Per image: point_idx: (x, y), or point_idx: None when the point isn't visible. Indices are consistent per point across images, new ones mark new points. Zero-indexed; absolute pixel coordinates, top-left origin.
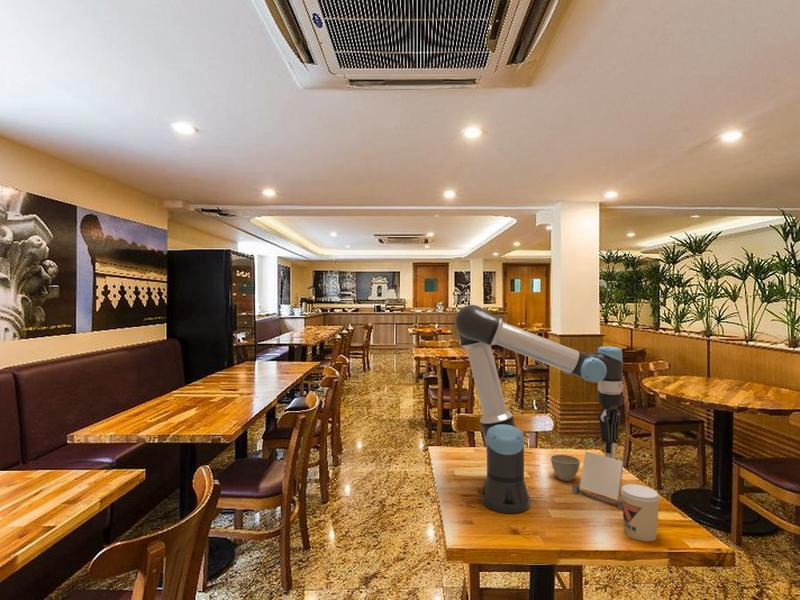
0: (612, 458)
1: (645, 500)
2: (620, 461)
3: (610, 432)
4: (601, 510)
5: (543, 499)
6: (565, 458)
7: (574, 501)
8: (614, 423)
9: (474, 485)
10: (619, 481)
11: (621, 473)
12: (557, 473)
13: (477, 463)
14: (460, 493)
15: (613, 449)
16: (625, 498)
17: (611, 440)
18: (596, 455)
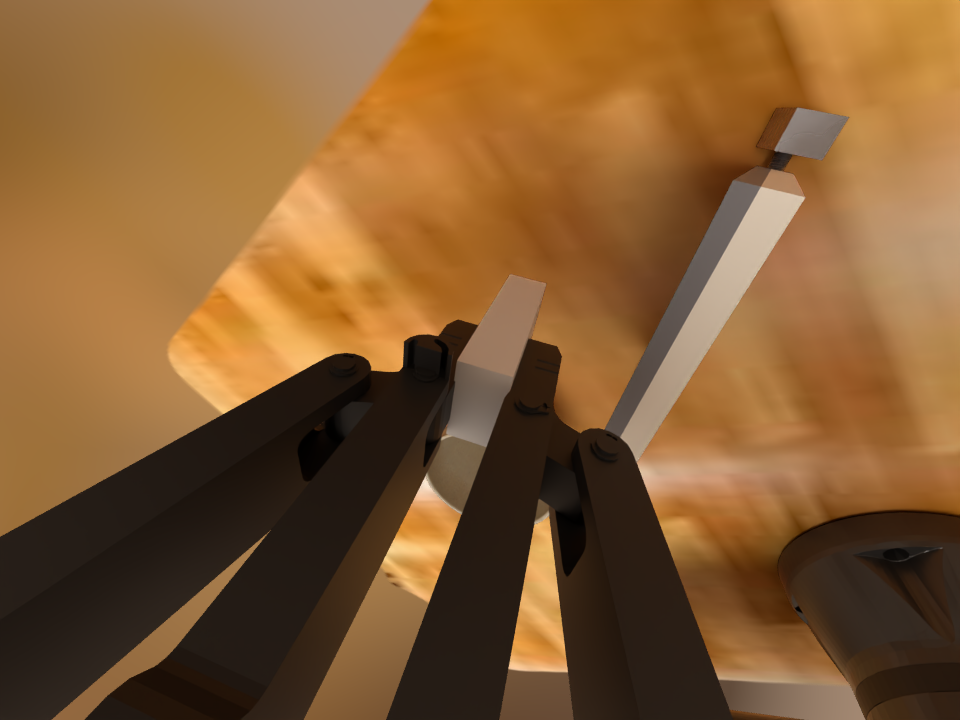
0: (730, 312)
1: None
2: (792, 214)
3: (523, 555)
4: (864, 240)
5: (797, 472)
6: (437, 470)
7: (770, 370)
8: (268, 685)
9: (743, 627)
10: (788, 179)
11: (765, 177)
12: None
13: (548, 613)
14: None
15: (518, 338)
16: None
17: (544, 431)
18: (651, 435)
